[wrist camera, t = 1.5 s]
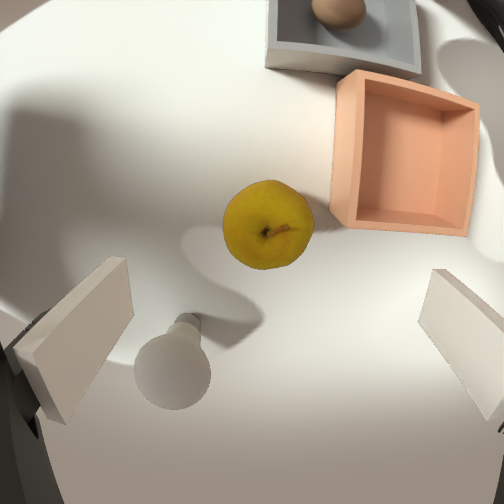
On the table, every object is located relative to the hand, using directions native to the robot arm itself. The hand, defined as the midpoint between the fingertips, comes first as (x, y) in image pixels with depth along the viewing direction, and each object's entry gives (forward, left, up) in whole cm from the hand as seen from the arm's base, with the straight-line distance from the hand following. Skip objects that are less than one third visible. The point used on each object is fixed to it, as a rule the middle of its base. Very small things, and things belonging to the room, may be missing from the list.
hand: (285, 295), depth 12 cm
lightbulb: (-7, -11, -15) cm, 20 cm away
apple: (0, 0, -15) cm, 15 cm away
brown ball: (+5, +18, -14) cm, 23 cm away
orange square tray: (+11, +6, -15) cm, 19 cm away
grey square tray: (+5, +18, -15) cm, 24 cm away
